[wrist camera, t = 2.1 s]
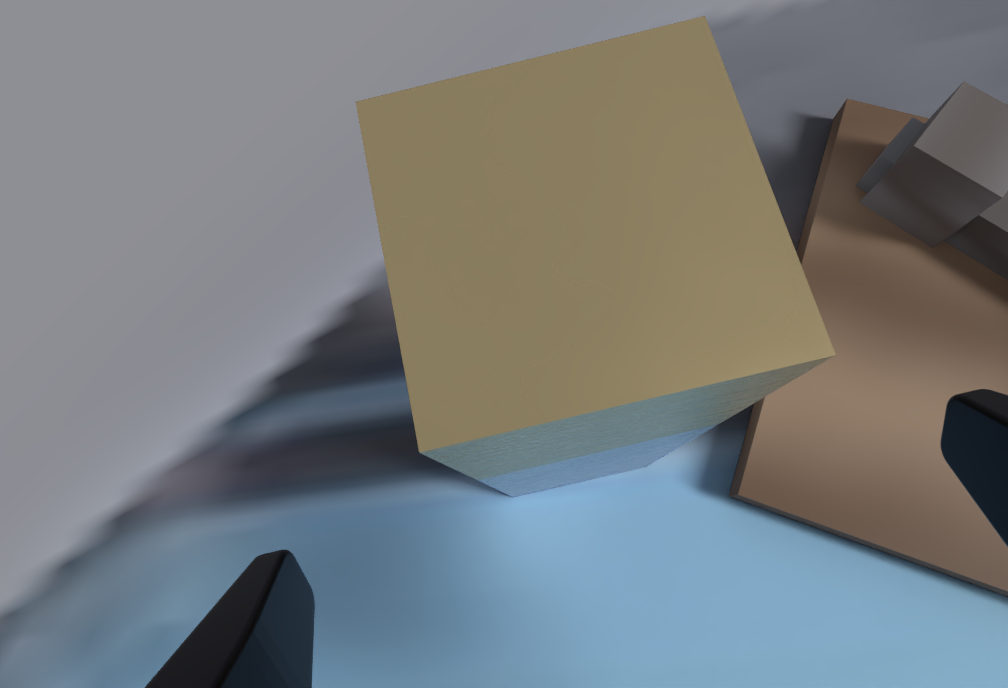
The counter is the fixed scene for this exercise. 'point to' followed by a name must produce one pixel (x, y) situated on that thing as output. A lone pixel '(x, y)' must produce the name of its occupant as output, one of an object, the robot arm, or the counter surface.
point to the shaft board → (895, 336)
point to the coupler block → (583, 259)
